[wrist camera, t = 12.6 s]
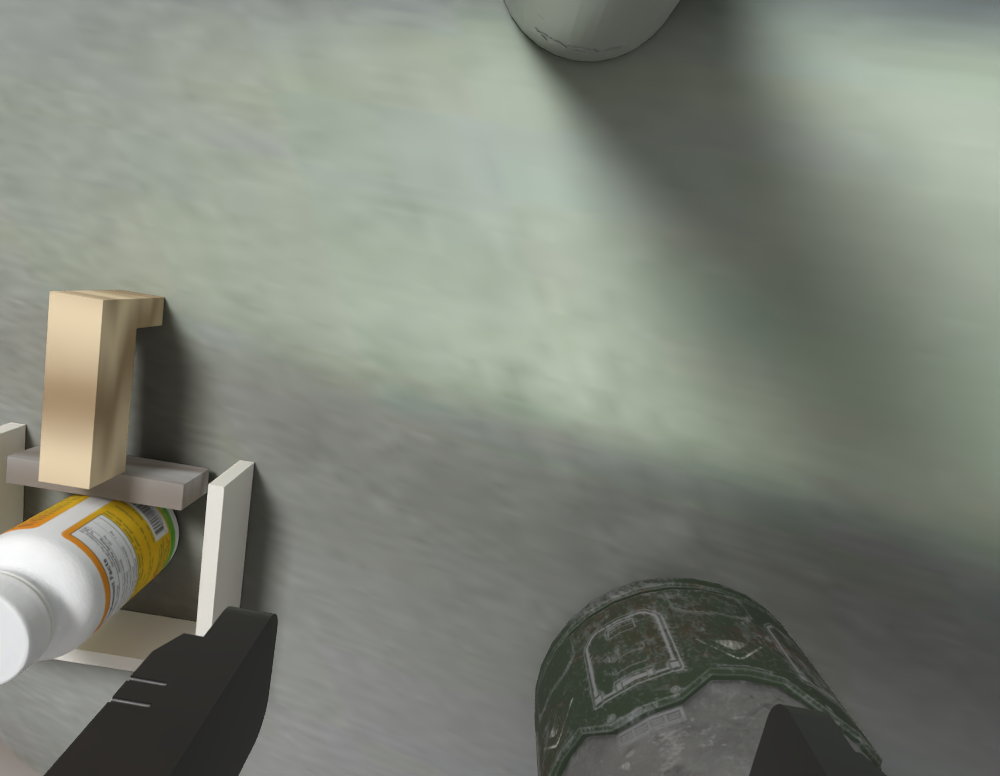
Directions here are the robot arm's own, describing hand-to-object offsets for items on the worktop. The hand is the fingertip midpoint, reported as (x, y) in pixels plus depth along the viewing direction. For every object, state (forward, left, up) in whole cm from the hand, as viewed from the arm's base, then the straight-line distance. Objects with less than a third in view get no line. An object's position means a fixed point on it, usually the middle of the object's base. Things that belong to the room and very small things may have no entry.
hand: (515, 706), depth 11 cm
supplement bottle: (+12, -20, -26) cm, 35 cm away
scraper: (+3, -20, -26) cm, 33 cm away
